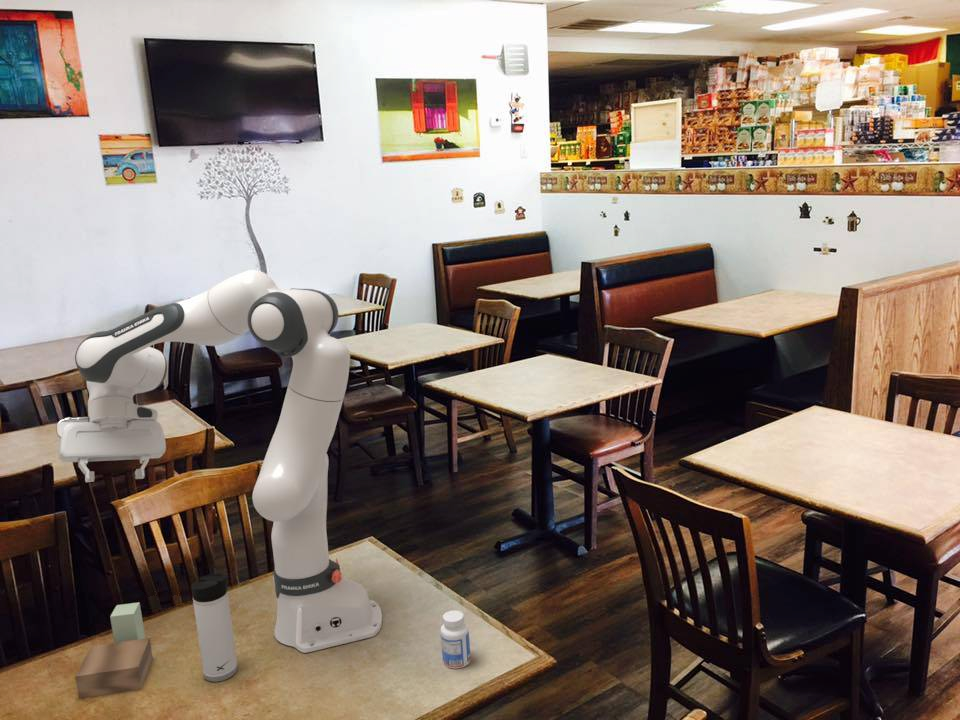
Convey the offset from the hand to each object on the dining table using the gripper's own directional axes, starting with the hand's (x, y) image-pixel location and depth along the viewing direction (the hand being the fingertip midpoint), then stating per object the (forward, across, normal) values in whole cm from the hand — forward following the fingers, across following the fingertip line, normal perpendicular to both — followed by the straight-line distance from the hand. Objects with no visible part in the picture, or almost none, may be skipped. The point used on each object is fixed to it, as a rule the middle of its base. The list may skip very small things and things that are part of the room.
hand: (115, 479), depth 159 cm
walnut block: (+38, -1, +6) cm, 39 cm away
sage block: (+32, +4, +13) cm, 35 cm away
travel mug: (+42, +16, -5) cm, 45 cm away
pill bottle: (+50, +53, -30) cm, 79 cm away
